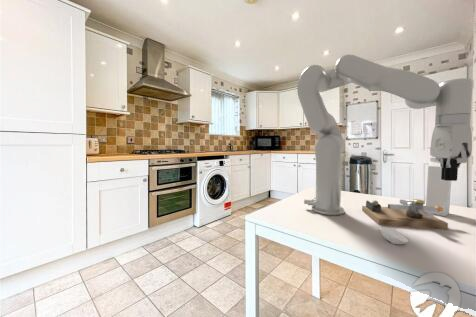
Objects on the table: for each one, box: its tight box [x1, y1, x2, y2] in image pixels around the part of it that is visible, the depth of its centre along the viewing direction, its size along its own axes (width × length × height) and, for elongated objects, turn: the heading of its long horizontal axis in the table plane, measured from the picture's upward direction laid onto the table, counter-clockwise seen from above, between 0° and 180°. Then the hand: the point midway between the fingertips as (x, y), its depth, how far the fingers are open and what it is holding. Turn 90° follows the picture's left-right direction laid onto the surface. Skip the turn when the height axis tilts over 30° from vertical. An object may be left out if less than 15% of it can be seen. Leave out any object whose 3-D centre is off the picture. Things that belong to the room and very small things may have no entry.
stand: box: [361, 199, 449, 230], centre depth 76 cm, size 20×15×6 cm
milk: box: [425, 157, 452, 217], centre depth 81 cm, size 6×6×22 cm
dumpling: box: [380, 226, 409, 245], centre depth 58 cm, size 7×5×4 cm
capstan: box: [387, 198, 443, 219], centre depth 72 cm, size 16×16×6 cm
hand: (448, 180), depth 65 cm, fingers closed
